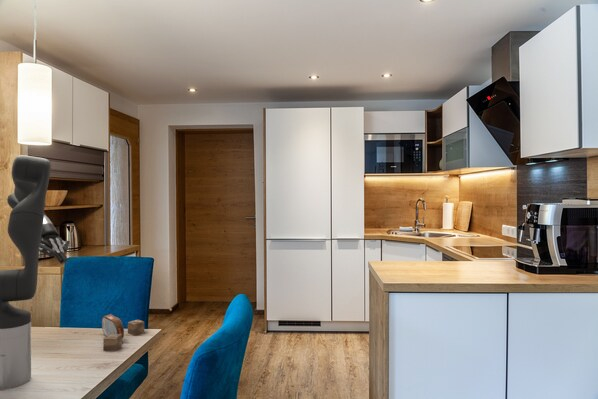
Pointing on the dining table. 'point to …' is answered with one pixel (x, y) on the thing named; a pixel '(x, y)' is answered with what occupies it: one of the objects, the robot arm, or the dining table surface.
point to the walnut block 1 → (112, 342)
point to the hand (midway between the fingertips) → (64, 262)
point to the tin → (112, 325)
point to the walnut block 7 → (136, 327)
